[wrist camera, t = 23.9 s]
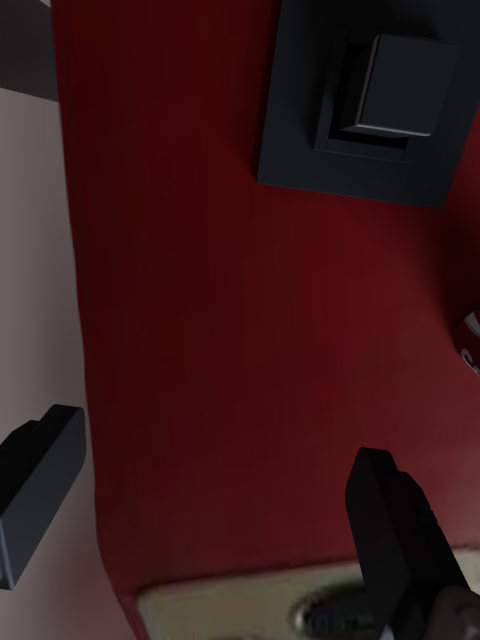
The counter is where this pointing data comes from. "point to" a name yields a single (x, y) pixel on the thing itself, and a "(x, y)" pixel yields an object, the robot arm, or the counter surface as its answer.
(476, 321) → the soda can
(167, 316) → the counter surface
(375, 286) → the counter surface
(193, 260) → the counter surface
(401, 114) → the pad block
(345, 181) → the base pad
